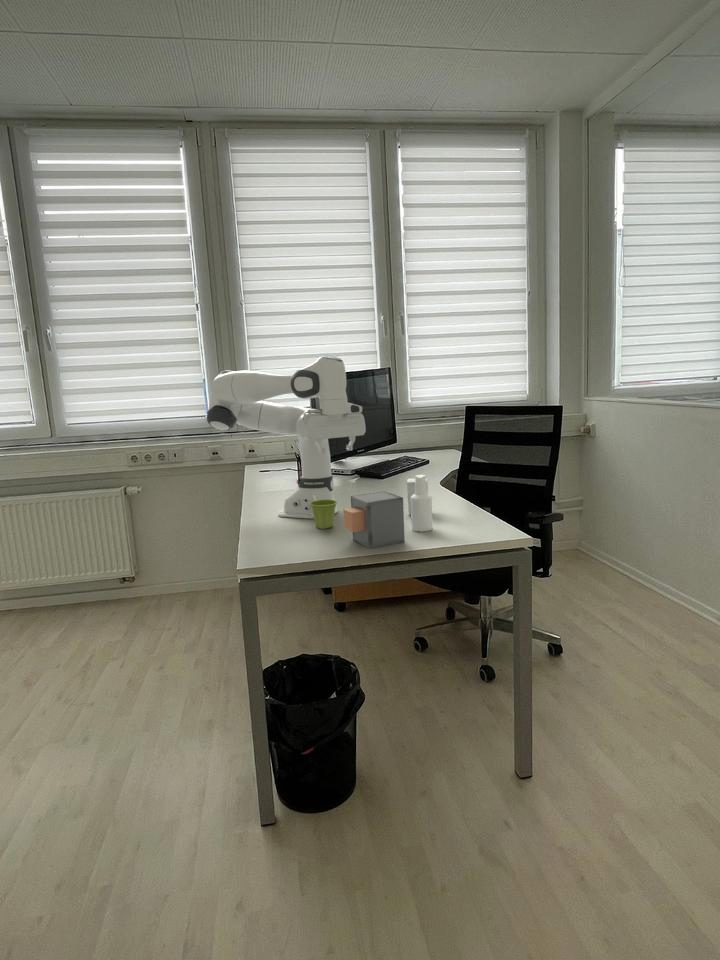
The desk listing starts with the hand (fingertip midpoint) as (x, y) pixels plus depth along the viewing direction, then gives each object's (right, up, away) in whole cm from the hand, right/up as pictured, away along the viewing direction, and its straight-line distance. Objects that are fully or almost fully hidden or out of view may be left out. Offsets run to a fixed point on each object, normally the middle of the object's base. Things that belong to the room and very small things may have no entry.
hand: (336, 451), depth 190 cm
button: (+6, -24, -8) cm, 26 cm away
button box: (+13, -28, -4) cm, 31 cm away
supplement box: (+29, -22, +28) cm, 46 cm away
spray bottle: (+28, -26, +6) cm, 39 cm away
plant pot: (-5, -25, +16) cm, 30 cm away
